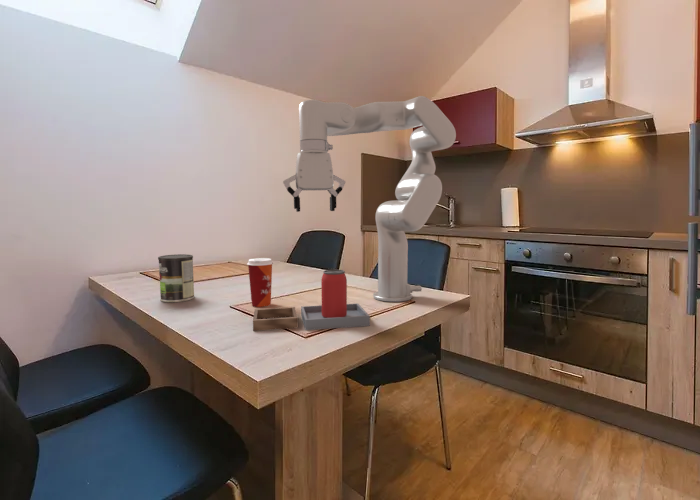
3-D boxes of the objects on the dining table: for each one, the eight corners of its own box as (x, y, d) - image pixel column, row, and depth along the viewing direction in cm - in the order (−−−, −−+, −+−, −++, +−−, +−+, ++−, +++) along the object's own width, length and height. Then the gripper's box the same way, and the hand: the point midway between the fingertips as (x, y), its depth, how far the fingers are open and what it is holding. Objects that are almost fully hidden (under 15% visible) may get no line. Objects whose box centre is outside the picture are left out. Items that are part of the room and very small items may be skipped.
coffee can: (166, 304, 116) (163, 259, 114) (156, 298, 123) (153, 256, 122) (199, 298, 123) (197, 256, 121) (188, 293, 130) (186, 253, 129)
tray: (358, 312, 106) (358, 303, 106) (369, 325, 94) (369, 316, 93) (301, 315, 103) (301, 306, 103) (305, 330, 90) (305, 320, 90)
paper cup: (271, 308, 111) (269, 261, 109) (245, 307, 111) (243, 261, 110) (276, 301, 119) (275, 257, 117) (252, 301, 119) (251, 257, 117)
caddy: (295, 315, 102) (294, 307, 102) (297, 327, 92) (297, 317, 92) (255, 318, 100) (254, 309, 100) (253, 330, 90) (252, 320, 90)
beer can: (317, 318, 96) (316, 272, 95) (328, 311, 102) (327, 268, 101) (340, 321, 94) (340, 274, 93) (350, 314, 100) (350, 270, 99)
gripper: (341, 151, 109) (342, 210, 111) (280, 149, 104) (283, 211, 106) (347, 147, 101) (348, 210, 103) (283, 145, 97) (285, 212, 99)
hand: (315, 211), depth 105 cm, fingers open, 9 cm apart
